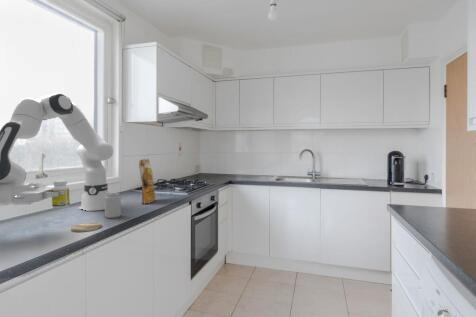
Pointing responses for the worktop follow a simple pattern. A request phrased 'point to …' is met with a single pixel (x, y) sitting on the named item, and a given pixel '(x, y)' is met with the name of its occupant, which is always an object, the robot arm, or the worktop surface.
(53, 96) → the robot arm
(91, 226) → the coaster
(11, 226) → the worktop surface
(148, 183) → the pancake mix bag
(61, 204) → the pill bottle
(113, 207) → the can
